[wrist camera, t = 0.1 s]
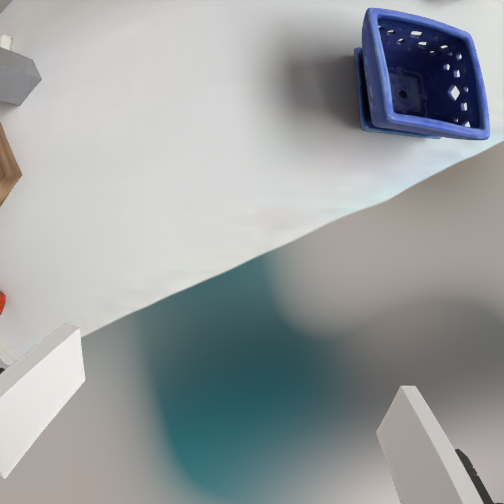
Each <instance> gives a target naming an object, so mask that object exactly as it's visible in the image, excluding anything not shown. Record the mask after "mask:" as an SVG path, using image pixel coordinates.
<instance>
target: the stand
mask: <svg viewBox="0 0 504 504" xmlns="http://www.w3.org/2000/svg"><path fill="white" fill-rule="evenodd" d="M21 176H22V173H21V171H20V169H19V167H18V164H17V162H16V160H15V158H14V155H13V153H12V151H11V148H10V146H9V143H8V141H7V138H6V136H5V133H4V131H3V128H2V125H1V123H0V206H1V205H2V203H3V202H4V200H5V199H6V197H7V196H8V194H9V193H10V191H11V190H12V188H13V187H14V185H15V184H16V183H17V181H18V180H19V178H20V177H21Z"/></svg>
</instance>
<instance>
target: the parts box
mask: <svg viewBox="0 0 504 504" xmlns="http://www.w3.org/2000/svg"><path fill="white" fill-rule="evenodd" d="M12 40H13V38H11V37H9V36H6V35H4V34H3V35H2V36H1V37H0V47H2V48H5V49H7V50H10V51H11V46H12Z"/></svg>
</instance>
